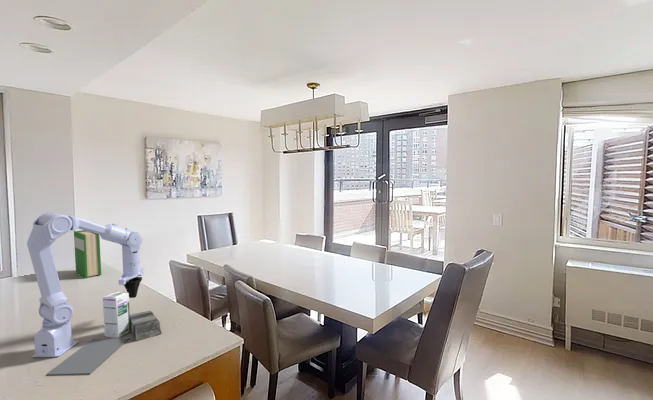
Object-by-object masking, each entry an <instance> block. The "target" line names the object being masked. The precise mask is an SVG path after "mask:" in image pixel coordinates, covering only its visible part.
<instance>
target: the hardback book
mask: <svg viewBox="0 0 653 400" xmlns="http://www.w3.org/2000/svg"><path fill="white" fill-rule="evenodd" d="M100 238H101V236H100V234H97V233H93V232H89V231H85V230H73V241H74V258H75V259H74V263H75V273H76V272H77V273H76V274H78V275H79V274H80V275H79V276H81V277H82V276H83V277H82V278H84V279H85V278H86V279H89V277H93V276H99V277H100V275H101V276H102V264H101V263H102V261H101V257H102V256H101V243H100V241H101V239H100Z"/></svg>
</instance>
